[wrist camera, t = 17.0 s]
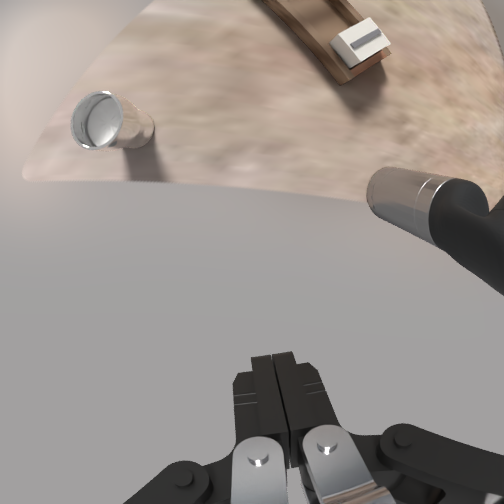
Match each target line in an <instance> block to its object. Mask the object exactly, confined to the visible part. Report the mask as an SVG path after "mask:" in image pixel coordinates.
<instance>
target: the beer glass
mask: <svg viewBox="0 0 504 504" xmlns="http://www.w3.org/2000/svg"><path fill="white" fill-rule="evenodd" d="M153 131H154V123H153V120H152V118H151V116H150V115H149V114H148V113H146V112H145V111H142V110H138V109H137V108H136V107H135V105H134V104H133V103H132V102H130V101H129V100H127V99H126V98H124V97H122V96H119V95H116V94H113V93H109V92H106V91H97V92H93V93H91V94H89V95H87V96H86V97H84V98H83V99H82V100H81V101H80V102H79V103H78V105H77V106H76V108H75V110H74V112H73V114H72V118H71V133H72V136H73V138H74V140H75V141H76V143H77V144H78V145H80V146H81V147H83V148H85V149H88V150H96V151H105V152H109V151H116V150H120V149H122V148H125V147H128V148H139V147H142V146H143V145H145V144H146V143H147V142H148V141H149V140H150V139H151V137H152V135H153Z"/></svg>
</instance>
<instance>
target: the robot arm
mask: <svg viewBox="0 0 504 504" xmlns="http://www.w3.org/2000/svg"><path fill="white" fill-rule="evenodd" d="M367 200H368V204H369V207H370V208H371V210H372V211H373V213H374V214H375V215H376V216H378V217H379V218H381V219H383V220H385V221H388V222H389V223H391V224H393V225H395V226H397V227H399V228H401V229H403V230H405V231H407V232H409V233H411V234H413V235H415V236H417V237H419V238H421V239H422V240H425V241H426V242H428V243H430V244H432V245H434V246H436V247H438V248H440V249H441V250H443V251H445V252H446V253H448V254H449V255H450V256H451V257H452V258H453V259H454V260H455V261H457V262H458V263H459V264H460V265H462V266H463V267H465V268H466V269H467V270H469V271H471V272H472V273H473V274H475V275H476V276H478V277H479V278H480V279H482V280H483V281H484V282H486V283H487V284H488V285H490V286H491V287H492V288H494V289H495V290H496V291H498V292H499V293H500V294H502V295H503V296H504V196H503V197H502V198H501V199H500V201H499V202H498V203H497V204H496V205H495V207H494V208H493V209H492V210H491V211H490V212H489V206H488V202H487V198H486V196H485V194H484V192H483V191H482V189H481V188H480V187H479V186H478V185H477V184H475V183H473V182H471V181H468V180H463V179H458V178H453V177H448V176H442V175H437V174H432V173H426V172H420V171H414V170H408V169H402V168H396V167H385V168H382V169H380V170H378V171H377V172H376V173H375V174H374V175H373V177H372V178H371V180H370V182H369V185H368V189H367ZM251 362H252V370H253V371H251V372H242V373H238V374H237V376H236V378H235V380H234V382H233V396H234V415H235V430H236V444H235V447H234V449H233V450H232V452H231V453H230V454H229V455H228V456H226V457H225V458H223V459H222V460H219V461H217V462H214V463H211V464H208V465H205V466H201V465H200V464H198V463H195V462H192V461H179V462H175V463H172V464H170V465H168V466H167V467H166V468H165V469H164V470H162V471H161V472H160V473H159V474H158V475H157V476H156V477H154V478H153V479H152V480H151V481H150V482H149V483H147V484H146V485H145V486H144V487H143V488H142V489H140V490H139V491H138V492H137V493H136V494H134V495H133V496H132V497H131V498H130V499H128V500H127V501H126V502H125V503H123V504H288V495H287V469H289V459H290V463H291V468H294V467H299V470H300V474H301V486H302V489H303V492H304V495H305V498H306V501H307V504H504V455H500V454H496V453H493V452H489V451H486V450H482V449H479V448H476V447H473V446H470V445H467V444H463V443H461V442H457V441H455V440H451V439H449V438H446V437H443V436H440V435H438V434H435V433H432V432H429V431H426V430H424V429H421V428H418V427H416V426H414V425H411V424H403V423H402V424H396V425H393V426H391V427H389V428H387V429H386V430H385V431H384V433H383V434H382V435H367V436H366V435H365V436H364V435H363V436H362V435H355V434H352V433H350V432H348V431H346V430H345V429H343V428H342V427H341V425H340V424H339V422H338V420H337V417H336V415H335V412H334V410H333V407H332V405H331V403H330V400H329V397H328V395H327V392H326V391H325V387H324V385H323V383H322V380H321V378H320V375H319V373H318V370H317V369H315V368H314V367H313V366H312V365H311V364H310V363H302V364H296V361H295V358H294V355H293V353H292V351H291V352H285V353H278V354H272V358H271V355H265V356H258V357H251Z"/></svg>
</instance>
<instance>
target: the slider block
mask: <svg viewBox="0 0 504 504" xmlns="http://www.w3.org/2000/svg"><path fill="white" fill-rule="evenodd" d="M328 44H329V45H330V47H331V48H332V49H333V50H334V51H335V52H336V54H337V55H338V56H339V57H340V58H341V60H342V61H343V62H344V63H345V65H346V66H347V67H348V68H349V69H350V68H351V67H353V66H355V65H356V64H358V63H360V62H361V61H363V60H365V59H366V58H368V57H369V56H371V55H373V54H374V53H376V52H378V51H379V50H381V49H383V48H384V47H386V46H388V45H389V44H391V43H390V42H389V40H388V39H387V38H386V36H385V35H384V34H383V33H382V31H381V30H380V29H379V28H378V27H377V25H376V24H375V23H374V22H373V21H372V19H371V18H370V17H369V18H367V19H365V20H363V21H361V22H360V23H358V24H356V25H354V26H352V27H350V28H348V29H346V30H344V31H343V32H341V33H339V34H338V35H337V36H336V37H335V38H333V39H332V40H331V41H330V42H329V43H328Z"/></svg>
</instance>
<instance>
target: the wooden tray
mask: <svg viewBox="0 0 504 504" xmlns="http://www.w3.org/2000/svg"><path fill="white" fill-rule="evenodd" d="M262 1H263V2H264V3H265V4H266V5H267V6H268V7H270V8H271V9H272V10H273V11H274V12H275V13H276V14H277V15H278V16H279V17H280V18H281V19H282V20H283V21H284V22H285V23H286V24H287V25H288V26H289V27H290V28H291V29H292V30H293V31H294V32H295V34H296V35H297V36H298V37H299V38H300V39H301V40H302V41H303V42H304V43H305V44H306V45H307V47H308V48H309V49H310V50H311V51H312V52H313V53H314V55H315V56H316V57H317V58H318V59H319V60H320V62H321V63H322V64H323V65H324V66H325V67H326V69H327V70H328V71H329V72H330V74H331V75H332V76H333V77H334V79H335V80H336V81H337V82H338V84H339V85H342V84H344V83H346V82H348V81H349V80H351V79H352V78H354V77H356V76H357V75H359V74H360V73H362V72H363V71H365V70H366V69H368V68H369V67H371V66H372V65H374V64H376V63H377V62H379V61H380V60H382V59H384V58H385V57H387V56H388V55H390V54H391V52H390V51H389V50H388V48H387V47H384V48H383V49H381V50H379V51H378V52H376V53H374V54H373V55H371V56H369V57H368V58H366V59H365V60H363V61H361V62H360V63H358V64H356V65H355V66H353V67H351V68H350V69H349V68H348V67H347V66H346V65H345V63H344V62H343V61H342V60H341V58H340V57H339V56H338V55H337V54H336V52H335V51H334V50H333V49H332V48H331V47H330V45H329V44H328V43H329V42H330V41H331V40H332V39H333V38H335V37H336V36H337V35H338V34H339V33H341V32H343V31H344V30H346V29H348V28H350V27H352V26H354V25H356V24H358V23H360V22H361V21H363V20H364V19H363V18H362V16H361V15H360V14H359V13H358V12H357V11H356V10H355V9H354V8H353V6H352V5H351V4H350V3H349V2H348V1H347V0H262Z"/></svg>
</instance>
